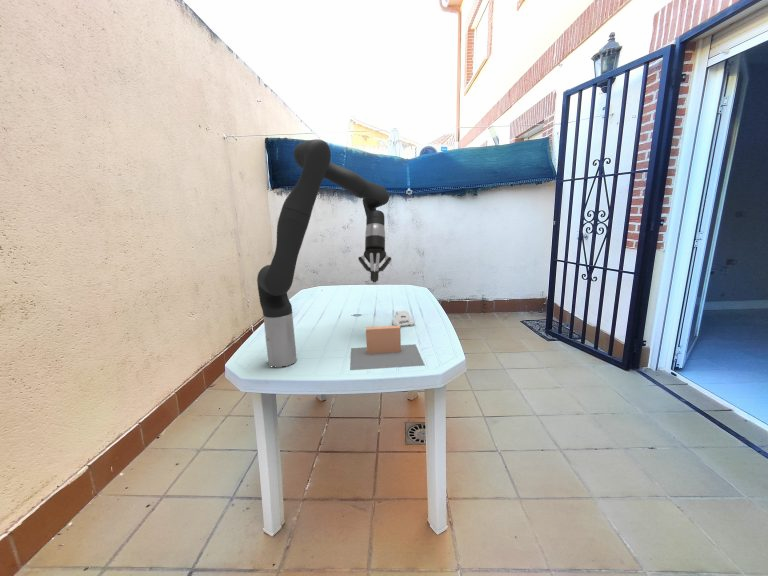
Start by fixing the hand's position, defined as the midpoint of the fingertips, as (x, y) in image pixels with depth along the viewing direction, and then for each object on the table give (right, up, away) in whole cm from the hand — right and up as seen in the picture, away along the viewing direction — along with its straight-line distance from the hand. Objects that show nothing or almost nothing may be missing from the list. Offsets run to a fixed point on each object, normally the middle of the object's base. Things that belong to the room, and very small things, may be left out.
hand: (374, 281), depth 126 cm
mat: (+4, -26, -9) cm, 28 cm away
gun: (+12, -18, +29) cm, 36 cm away
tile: (+3, -25, -5) cm, 26 cm away
